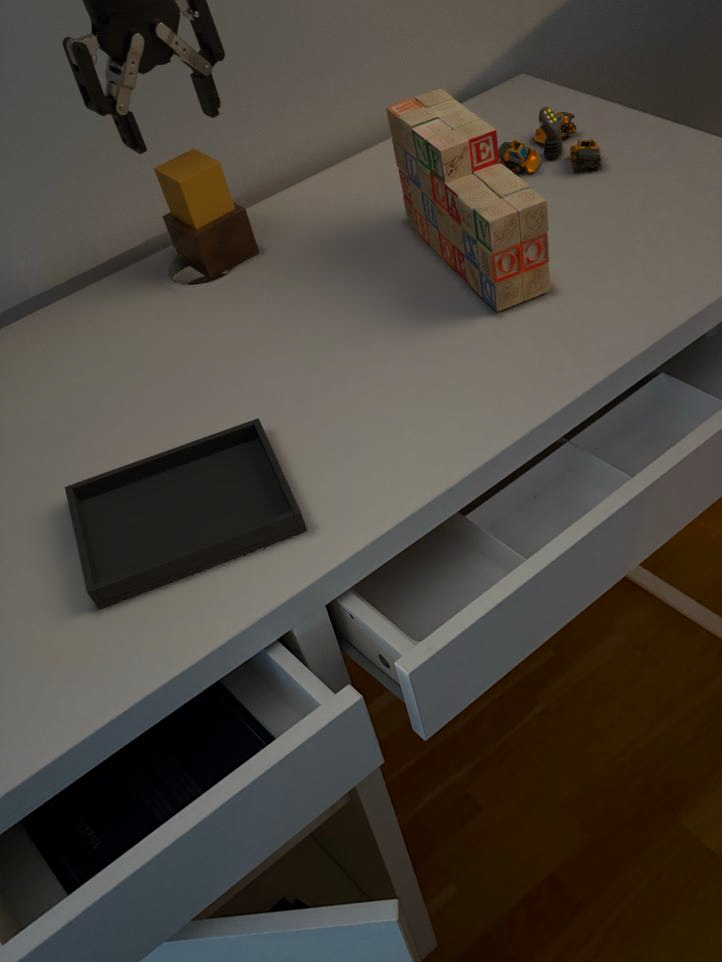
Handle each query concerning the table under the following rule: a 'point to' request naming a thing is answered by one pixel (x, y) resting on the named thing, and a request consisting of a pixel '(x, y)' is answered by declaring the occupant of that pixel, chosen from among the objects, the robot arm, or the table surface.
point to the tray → (180, 512)
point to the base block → (214, 242)
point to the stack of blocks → (470, 199)
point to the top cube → (195, 188)
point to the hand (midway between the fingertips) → (176, 132)
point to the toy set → (551, 145)
